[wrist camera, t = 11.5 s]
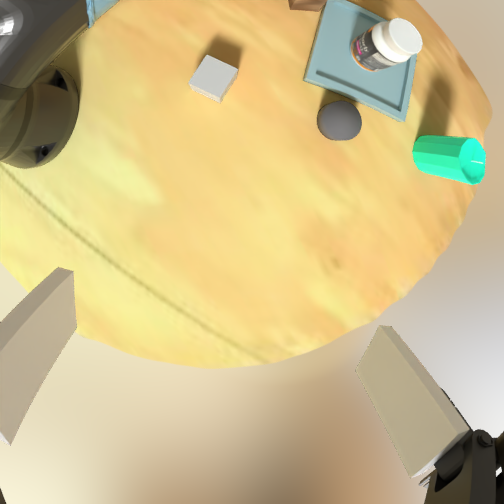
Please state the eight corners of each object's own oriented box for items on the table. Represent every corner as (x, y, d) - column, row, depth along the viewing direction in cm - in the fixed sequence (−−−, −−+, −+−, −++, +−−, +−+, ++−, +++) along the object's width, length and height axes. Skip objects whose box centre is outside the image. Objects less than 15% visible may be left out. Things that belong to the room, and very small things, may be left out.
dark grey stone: (312, 133, 34) (319, 132, 31) (321, 98, 32) (329, 94, 29) (346, 145, 34) (356, 145, 32) (355, 111, 33) (365, 109, 30)
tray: (303, 80, 31) (306, 78, 30) (325, -3, 26) (328, -7, 25) (399, 121, 34) (404, 121, 32) (413, 41, 29) (418, 39, 27)
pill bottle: (350, 31, 28) (385, 5, 19) (385, 46, 29) (426, 27, 19) (346, 64, 30) (383, 44, 21) (383, 78, 31) (425, 65, 21)
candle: (430, 180, 37) (484, 196, 26) (406, 157, 35) (462, 167, 24) (444, 150, 35) (499, 159, 24) (422, 127, 34) (478, 128, 23)
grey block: (192, 90, 30) (188, 82, 27) (208, 64, 29) (206, 54, 26) (220, 103, 31) (219, 97, 28) (236, 77, 30) (238, 69, 27)
